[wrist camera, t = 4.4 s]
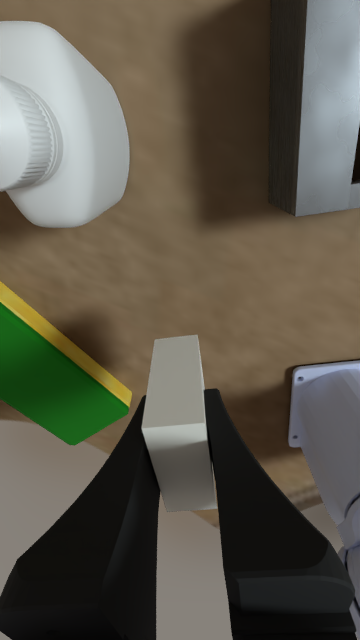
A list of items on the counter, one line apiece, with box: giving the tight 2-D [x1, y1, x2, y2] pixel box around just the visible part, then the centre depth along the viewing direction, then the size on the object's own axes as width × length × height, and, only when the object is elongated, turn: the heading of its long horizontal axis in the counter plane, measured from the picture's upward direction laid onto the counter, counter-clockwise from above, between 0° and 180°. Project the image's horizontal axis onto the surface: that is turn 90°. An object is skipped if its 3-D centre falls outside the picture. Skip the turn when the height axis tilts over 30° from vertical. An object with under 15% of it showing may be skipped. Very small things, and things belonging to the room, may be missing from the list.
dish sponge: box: [0, 282, 132, 445], centre depth 22 cm, size 7×14×2 cm, turn 39°
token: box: [142, 335, 217, 512], centre depth 12 cm, size 5×2×5 cm, turn 8°
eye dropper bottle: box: [0, 21, 130, 228], centre depth 10 cm, size 4×6×12 cm
